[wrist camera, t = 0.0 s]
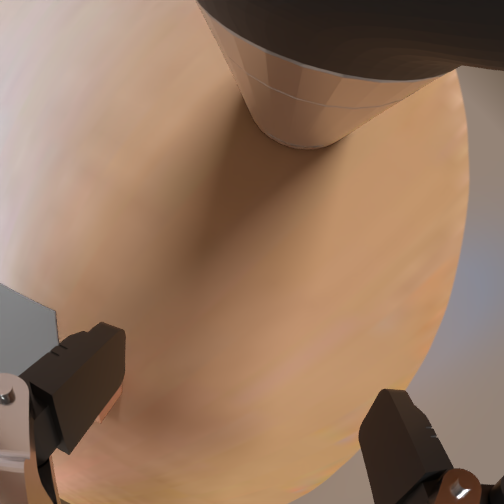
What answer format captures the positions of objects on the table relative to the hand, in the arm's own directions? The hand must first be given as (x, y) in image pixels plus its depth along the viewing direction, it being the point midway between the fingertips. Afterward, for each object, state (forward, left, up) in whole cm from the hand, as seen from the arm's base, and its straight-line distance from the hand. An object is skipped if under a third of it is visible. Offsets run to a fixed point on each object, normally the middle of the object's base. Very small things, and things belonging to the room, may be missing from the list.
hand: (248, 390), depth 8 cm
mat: (+23, -31, -17) cm, 42 cm away
